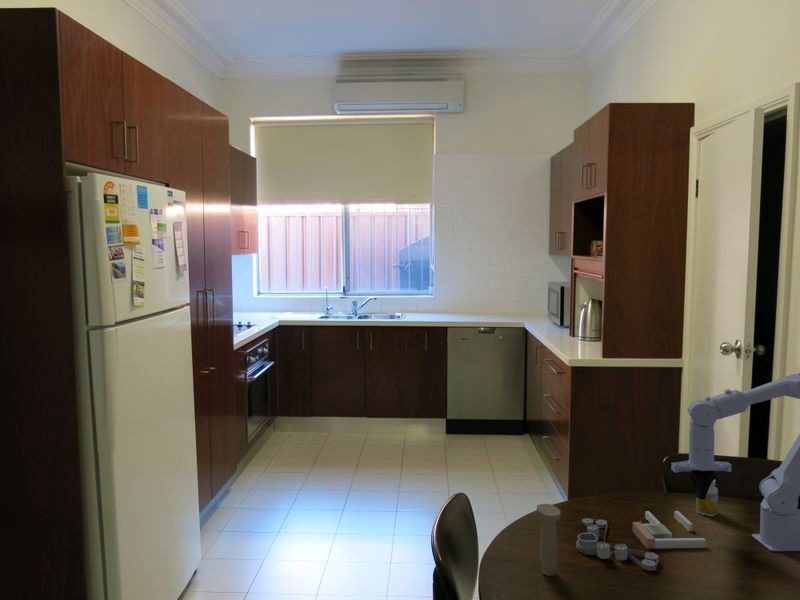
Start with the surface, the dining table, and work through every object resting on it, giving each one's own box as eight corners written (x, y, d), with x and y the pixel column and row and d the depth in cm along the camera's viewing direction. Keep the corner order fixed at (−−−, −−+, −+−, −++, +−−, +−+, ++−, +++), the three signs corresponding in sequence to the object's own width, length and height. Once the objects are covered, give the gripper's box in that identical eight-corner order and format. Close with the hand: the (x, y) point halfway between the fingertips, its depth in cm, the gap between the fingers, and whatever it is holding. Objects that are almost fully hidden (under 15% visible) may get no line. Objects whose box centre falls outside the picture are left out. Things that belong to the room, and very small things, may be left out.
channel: (677, 517, 157) (678, 510, 157) (709, 547, 140) (709, 539, 140) (629, 518, 157) (629, 511, 157) (655, 548, 141) (655, 540, 140)
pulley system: (613, 585, 127) (669, 570, 131) (612, 564, 127) (668, 551, 130) (550, 533, 153) (598, 523, 157) (549, 516, 153) (597, 506, 157)
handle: (544, 581, 127) (544, 516, 126) (533, 566, 133) (532, 504, 132) (564, 579, 128) (564, 514, 127) (552, 564, 134) (552, 502, 133)
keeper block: (662, 535, 147) (663, 524, 147) (672, 545, 142) (672, 533, 142) (643, 536, 147) (643, 525, 147) (652, 545, 142) (652, 534, 142)
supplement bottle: (691, 510, 161) (692, 476, 161) (706, 507, 163) (707, 474, 162) (706, 518, 156) (707, 483, 156) (722, 515, 158) (722, 481, 157)
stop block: (640, 531, 150) (640, 522, 149) (655, 548, 141) (655, 538, 140) (632, 531, 150) (632, 522, 149) (646, 548, 141) (647, 538, 140)
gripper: (721, 441, 150) (720, 491, 151) (666, 442, 150) (665, 492, 151) (736, 450, 143) (735, 502, 144) (679, 451, 143) (678, 503, 144)
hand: (700, 498), depth 147 cm, fingers closed
